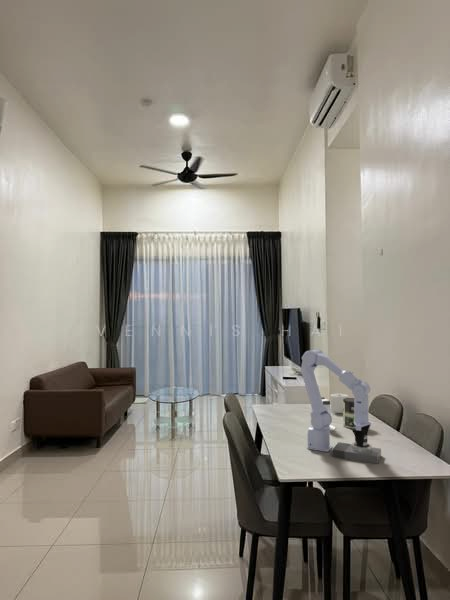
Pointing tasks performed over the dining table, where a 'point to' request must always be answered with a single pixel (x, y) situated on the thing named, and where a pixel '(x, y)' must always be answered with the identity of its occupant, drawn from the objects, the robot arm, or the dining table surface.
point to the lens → (363, 442)
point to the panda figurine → (327, 405)
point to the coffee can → (348, 413)
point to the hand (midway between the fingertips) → (361, 443)
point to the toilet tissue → (337, 402)
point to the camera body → (357, 452)
